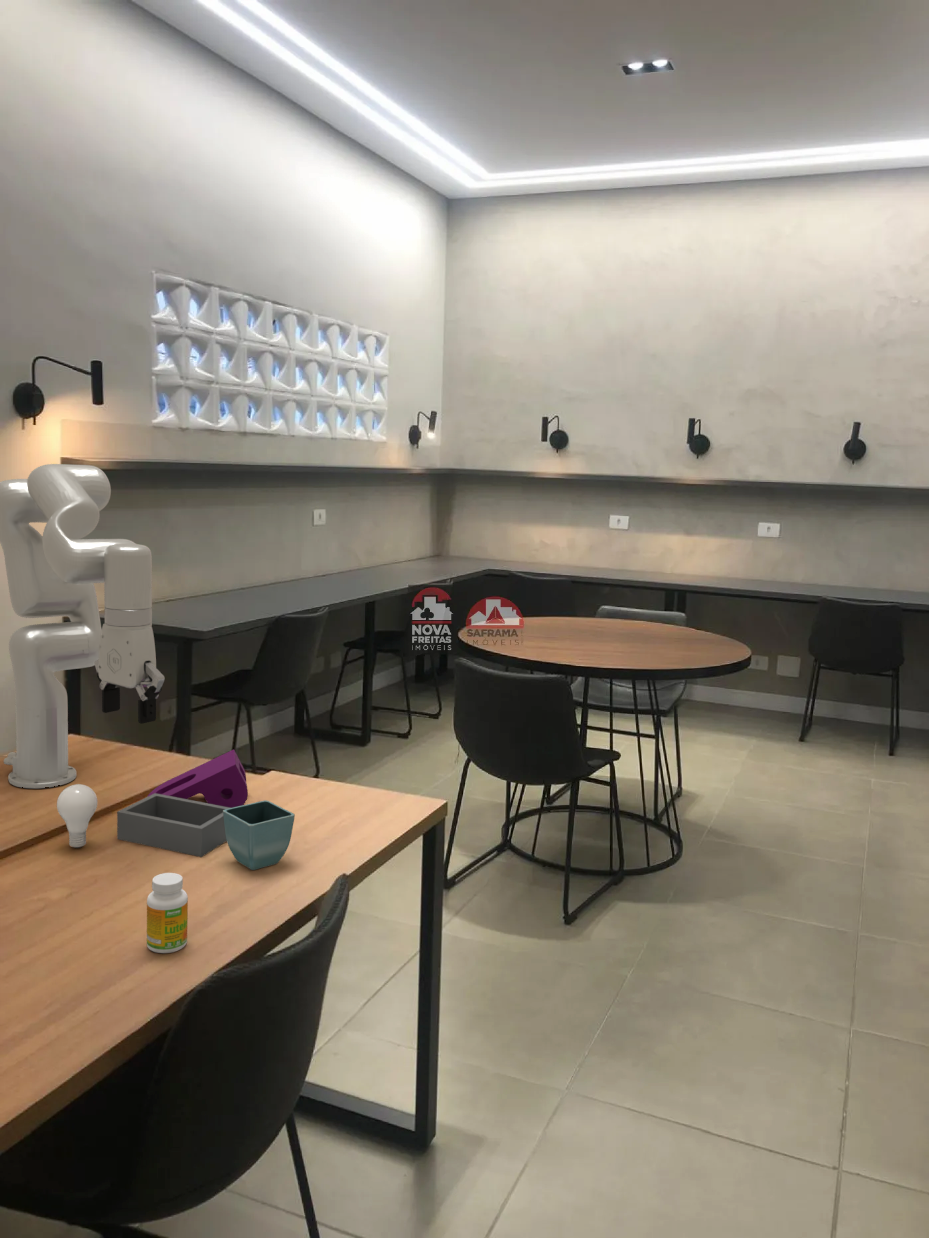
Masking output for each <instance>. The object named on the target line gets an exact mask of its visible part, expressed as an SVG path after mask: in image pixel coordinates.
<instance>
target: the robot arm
mask: <svg viewBox="0 0 929 1238" xmlns="http://www.w3.org/2000/svg"><path fill="white" fill-rule="evenodd" d="M111 488H112V487H111V483H110V481H109V478H108V476H107V475H106V473H105V472H104V471H103V470H102V469H100V467H97V466H95V465H89V464H64V463H63V464H62V463H61V464H60V463H50V464H49V463H47V464H43V465H39V466H38V467H36V468H34V469H33V470H32V471H30V474H29V475H28V477H27V478H13V479H5V480H2V481H0V546H1V548H2V551H3V552H2V553H3V557H4V563H5V564H4V565H5V571H6V578H7V586H8V592H9V593H8V594H9V597H10V602H11V607H12V610H13V611H14V613H15V614H16V615H17V616H18V617H21V618H25V619H27V618H28V619H36V618H37V619H38V618H41V619H42V618H56V617H68V618H69V621H67V622H51V623H50V622H49V623H48V622H47V623H39V624H38V623H37V624H29V625H25V626H22V627H20V628H17V629H16V630H15V631H13V633H12V634H11V635H10V638H9V640H8V652H9V657H10V661H11V662H10V663H11V666H12V673H13V679H14V680H13V681H14V693H15V694H14V697H15V699H14V702H15V703H14V704H15V731H16V733H15V734H16V735H15V736H16V737H15V738H16V739H15V740H16V741H15V742H16V743H15V744H16V746H15V747H16V752H13V751H11V752H9V753H8V754H7V757H5V758H4V759H3V764H5V765H7V766H12V771H11V772H10V773H9V774H8V783H9V784H10V785H12V786H14V787H17V788H22V787H23V788H24V789H46V788H45V787H49V788H54V786H55V787H59V786H58V785H60V786H63V785H66V784H68V783H71V782H73V781H74V780H75V779H76V777H77V770H76V768H75V767H73V766H72V765H71V766H70V765H69V731H68V730H69V724H68V723H69V721H68V718H69V717H68V716H69V715H68V714H69V713H68V711H69V710H68V706H69V705H68V703H69V702H68V693H67V689H66V687H65V686H64V684H63V683H62V682H61V681H59V680H58V678H57V677H56V675H55V673H56V672H61V671H67V670H68V671H69V670H76V669H77V670H78V669H85V668H90V667H95V670H96V678H98V681H99V688H100V689H101V711H102V713H104V714H107V713H111V712H117V711H120V710H121V688H126V689H136V691H137V694H138V696H139V697H140V699H139V700H137V721H138V722H137V723H139V724H141V725H143V724H147V723H152V722H155V721H156V720H157V699H158V698H159V695H160V693H161V692H162V689H163V688H162V687H163V684H164V682H165V675H164V674H163V673H161V671H160V670H159V669H158V668H157V659H156V656H157V655H156V654H157V653H156V645H155V644H156V643H155V637H154V635H155V634H154V631H153V627H152V625H153V585H152V584H153V581H152V580H153V572H152V571H153V570H152V569H153V567H152V565H153V564H152V563H153V557H152V556H153V555H152V550H151V549H150V548H149V547H148V545H145V544H138V543H135V542H134V541H133V540H130V539H126V538H89V539H88V538H85V537H87V536H88V535H89V534H91V533H92V532H93V531H94V530H95V529H96V527H97V525H98V523H99V522H100V517H101V515H100V512H101V511H102V510H103V509H104V508H105V507H106V506H107V505H108V504H109V501H110V499H111V493H112V489H111ZM30 523H34V524H35V523H42V524H43V523H45V526H44V529H43V532H42V534H41V533H40V532H39V531H38V530H37V528H35V527H34V526H32V525H31V524H30ZM101 583H103V584H104V585H103V586H104V587H103V589H104V590H103V592H104V594H103V595H104V623H103V624H102V623H101V617H100V610H99V603H98V596H97V592H96V591H97V590H96V587H95V584H101ZM120 687H121V688H120ZM145 688H147V689H146V690H145Z"/></svg>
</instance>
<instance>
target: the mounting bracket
mask: <svg viewBox="0 0 929 1238" xmlns="http://www.w3.org/2000/svg"><path fill="white" fill-rule="evenodd" d="M247 784H248V783H247V775H246V769H245V768H244V766H243V764H242V762H241V760H240V759H239V757H238V754H237V752H236V751H235V749H232V750H229V751H227V752H225V753H223V754H221V755H219V756H217V757H215V758H212V759H210V760H208V761H206V762H204V763H202V764H200V765H197V766H195V767H193V768H192V769H190V770H188V771H185V772H183V773H181V774H179V775H177V776H175V777H173V778H170V779H168V780H166V781H165V782H163V783H161V784H160V785H158V786H156V788H154V789H153V790H152V791H150V792H149V794H148V795H147V797H148V796H150V795H152V794H154V793H156V794H162V795H167V796H172V797H177V798H182V799H188V800H189V799H190V798H192V797H194V796H196V795H202V796H203V798H204V800H205V803H208V804H214V805H219V806H224V807H229V808H233V807H238V806H242V805H246V804H245V803H246V802H247V799H248V796H249V793H248V791H249V789H248V785H247Z"/></svg>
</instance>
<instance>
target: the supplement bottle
mask: <svg viewBox="0 0 929 1238" xmlns="http://www.w3.org/2000/svg"><path fill="white" fill-rule="evenodd" d="M183 878H184V877H183V876H182V875H181V874H179V873H176V872H163V873H160V874H157V875H155V876H153V878H152V882H151V884H152V885H151V888H152V891H151V892H150V893H149V894H148V896H147V897H146V898H147V899H146V946H147V949H148V950H150V951H151V952H154V953H158V954H170V953H174V952H177V951H180V950H181V949H183V948H184V947H185V946H186V944H187V943H188V919H189V918H188V912H189V910H188V908H189V907H188V906H189V903H188V901H189V899H188V898H189V897H188V894H187V891H185V890H184V889H183V883H184V880H183Z"/></svg>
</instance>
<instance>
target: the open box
mask: <svg viewBox="0 0 929 1238" xmlns="http://www.w3.org/2000/svg"><path fill="white" fill-rule="evenodd" d="M147 796H148V795H147ZM225 809H229V807H224V806H219V805H214V804H208V803H207V802H202V801H196V800H192V799H189V798H188V799H182V798H177V797H172V796H167V795H162V794H156V793H154V794H152V795H150V796H148V797H145V798H142V799H140V800H138V801H137V802H134V803H132V804H130V805H128V806H126V807H124V808H121V809H119V810H118V811H117V812H116V820H117V821H116V822H117V823H116V826H117V827H116V829H117V831H116V834H117V835H116V837H117V840H120V841H124V842H127V843H134V844H138V845H144V846H148V847H153V848H157V849H162V850H167V851H172V852H176V853H180V854H181V853H182V854H185V855H190V856H195V857H199V858H202V857H204V856H205V855H207V854H208V853H210V852H212V851H213V850H215V849H217V848H218V847H219V846H221V845H222V844H225V843H227V840H226V834H225V826H224V816H223V810H225Z"/></svg>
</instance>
